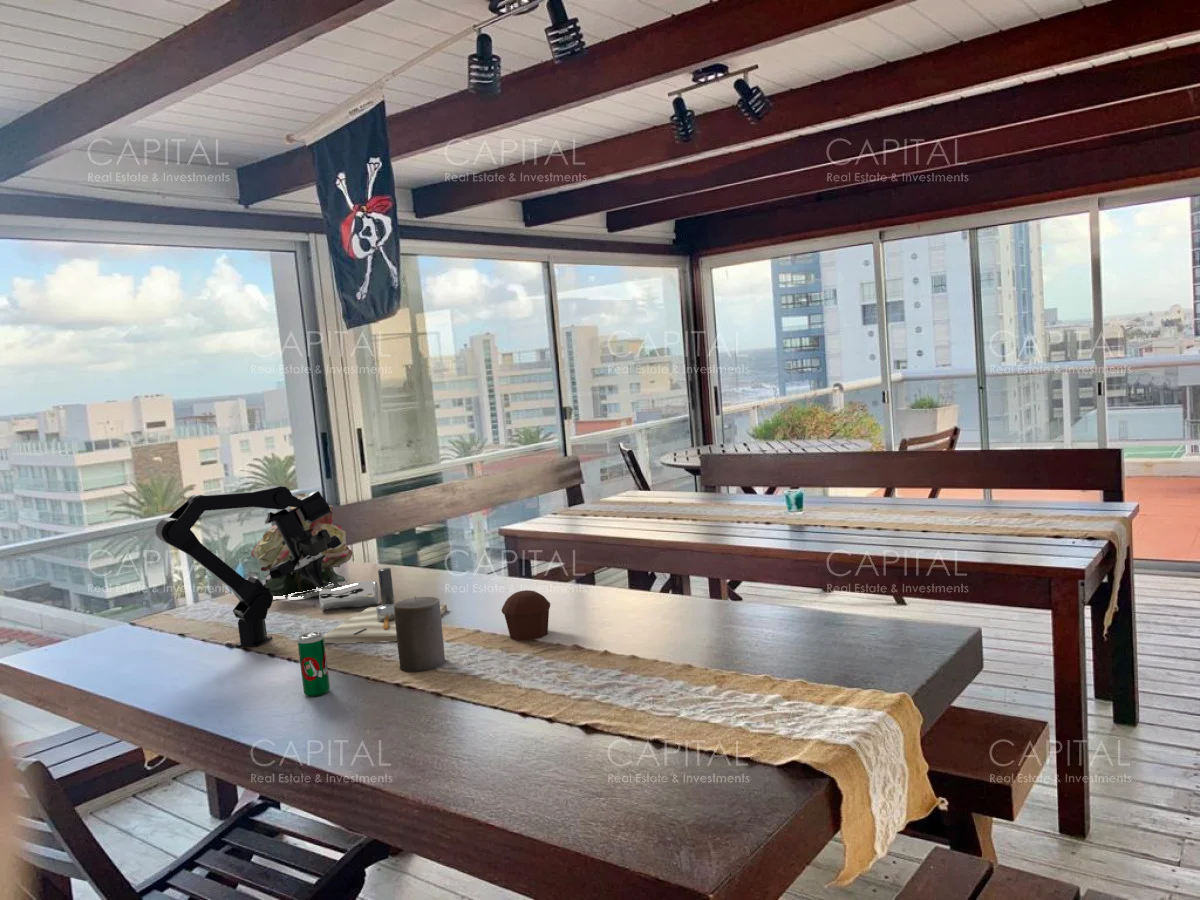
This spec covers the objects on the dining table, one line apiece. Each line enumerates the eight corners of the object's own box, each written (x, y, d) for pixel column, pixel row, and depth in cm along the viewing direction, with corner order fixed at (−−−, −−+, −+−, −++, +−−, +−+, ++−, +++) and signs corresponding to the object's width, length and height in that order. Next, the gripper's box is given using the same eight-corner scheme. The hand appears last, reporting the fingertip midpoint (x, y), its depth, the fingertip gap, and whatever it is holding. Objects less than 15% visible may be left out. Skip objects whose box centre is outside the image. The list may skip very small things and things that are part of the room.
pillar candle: (400, 675, 187) (393, 604, 185) (398, 661, 196) (391, 594, 195) (448, 667, 189) (441, 598, 188) (443, 654, 199) (437, 587, 197)
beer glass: (320, 613, 244) (376, 606, 245) (317, 587, 244) (373, 580, 246) (326, 610, 251) (380, 603, 252) (323, 585, 251) (377, 578, 253)
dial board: (406, 641, 210) (405, 634, 210) (320, 643, 215) (319, 636, 215) (447, 610, 236) (446, 603, 236) (369, 612, 240) (368, 606, 240)
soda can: (321, 686, 184) (314, 629, 183) (335, 690, 181) (328, 632, 180) (299, 695, 180) (291, 636, 179) (313, 699, 177) (306, 640, 176)
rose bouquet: (247, 605, 262) (234, 503, 259) (302, 580, 290) (291, 488, 287) (326, 603, 255) (313, 499, 253) (375, 577, 284) (364, 483, 281)
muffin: (497, 634, 210) (492, 592, 209) (540, 624, 215) (536, 583, 214) (516, 646, 200) (511, 602, 199) (561, 635, 205) (557, 592, 204)
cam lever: (396, 626, 217) (391, 582, 216) (374, 629, 216) (369, 585, 215) (399, 608, 235) (394, 566, 234) (379, 610, 234) (374, 569, 233)
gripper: (278, 541, 214) (307, 600, 215) (339, 510, 228) (366, 565, 230) (255, 550, 221) (284, 606, 223) (316, 519, 235) (342, 572, 237)
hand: (321, 587), depth 228 cm, fingers closed
